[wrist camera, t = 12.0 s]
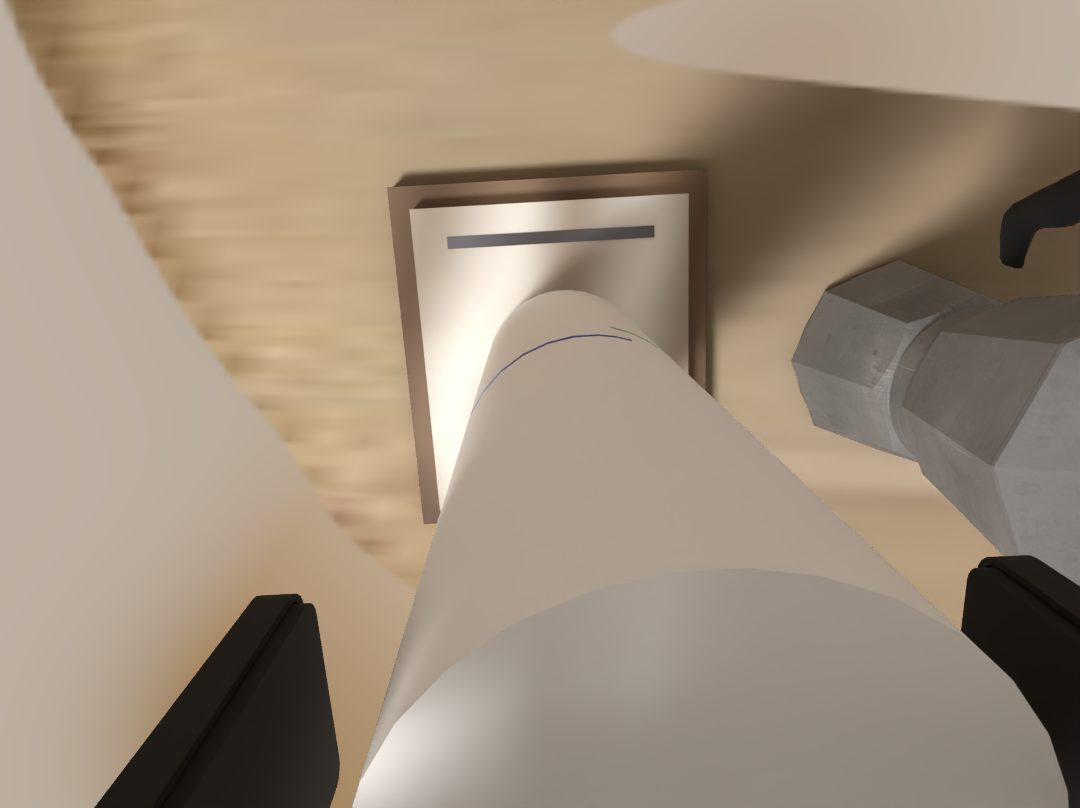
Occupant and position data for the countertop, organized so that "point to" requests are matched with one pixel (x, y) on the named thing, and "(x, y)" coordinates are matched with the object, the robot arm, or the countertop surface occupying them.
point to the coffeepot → (964, 386)
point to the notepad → (536, 280)
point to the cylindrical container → (670, 615)
